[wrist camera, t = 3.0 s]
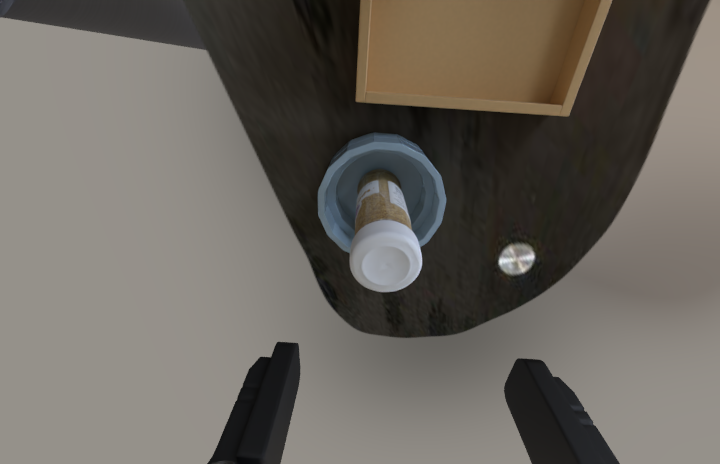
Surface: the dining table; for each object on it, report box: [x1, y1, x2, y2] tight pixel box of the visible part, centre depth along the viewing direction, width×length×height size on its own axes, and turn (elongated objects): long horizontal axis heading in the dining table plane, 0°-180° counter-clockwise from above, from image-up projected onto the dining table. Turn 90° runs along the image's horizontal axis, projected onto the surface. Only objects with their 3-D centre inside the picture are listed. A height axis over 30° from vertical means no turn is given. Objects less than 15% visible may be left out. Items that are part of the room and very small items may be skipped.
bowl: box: [318, 132, 446, 253], centre depth 28 cm, size 11×11×5 cm
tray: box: [355, 0, 612, 117], centre depth 22 cm, size 18×14×3 cm
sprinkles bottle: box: [350, 169, 422, 292], centre depth 24 cm, size 5×5×13 cm
